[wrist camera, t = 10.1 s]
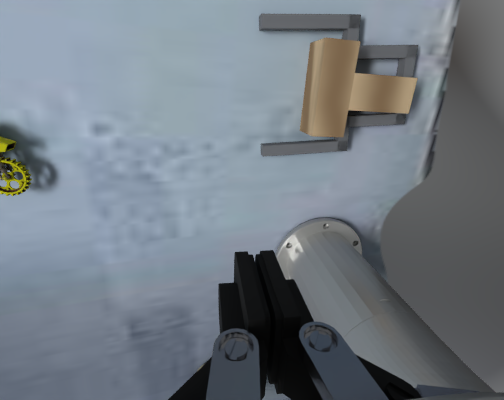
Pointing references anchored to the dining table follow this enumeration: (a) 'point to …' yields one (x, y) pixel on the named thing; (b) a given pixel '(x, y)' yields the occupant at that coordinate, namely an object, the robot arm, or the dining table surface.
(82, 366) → the dining table surface
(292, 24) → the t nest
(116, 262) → the dining table surface
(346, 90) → the oak t block
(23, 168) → the toy motorcycle
